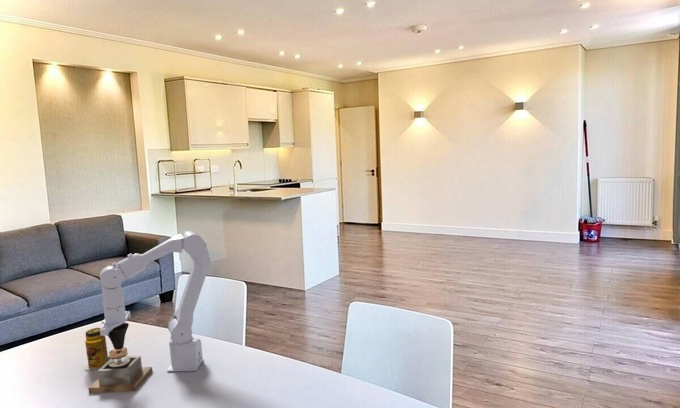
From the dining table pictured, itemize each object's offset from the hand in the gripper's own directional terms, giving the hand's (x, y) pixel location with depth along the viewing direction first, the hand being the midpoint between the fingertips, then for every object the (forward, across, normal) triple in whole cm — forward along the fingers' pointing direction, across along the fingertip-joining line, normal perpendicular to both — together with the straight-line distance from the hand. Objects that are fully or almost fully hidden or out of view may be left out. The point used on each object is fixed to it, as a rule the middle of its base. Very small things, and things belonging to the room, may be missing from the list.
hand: (119, 348), depth 146 cm
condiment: (+11, -12, -14) cm, 22 cm away
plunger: (+4, +1, 0) cm, 4 cm away
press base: (+10, 0, 0) cm, 11 cm away
